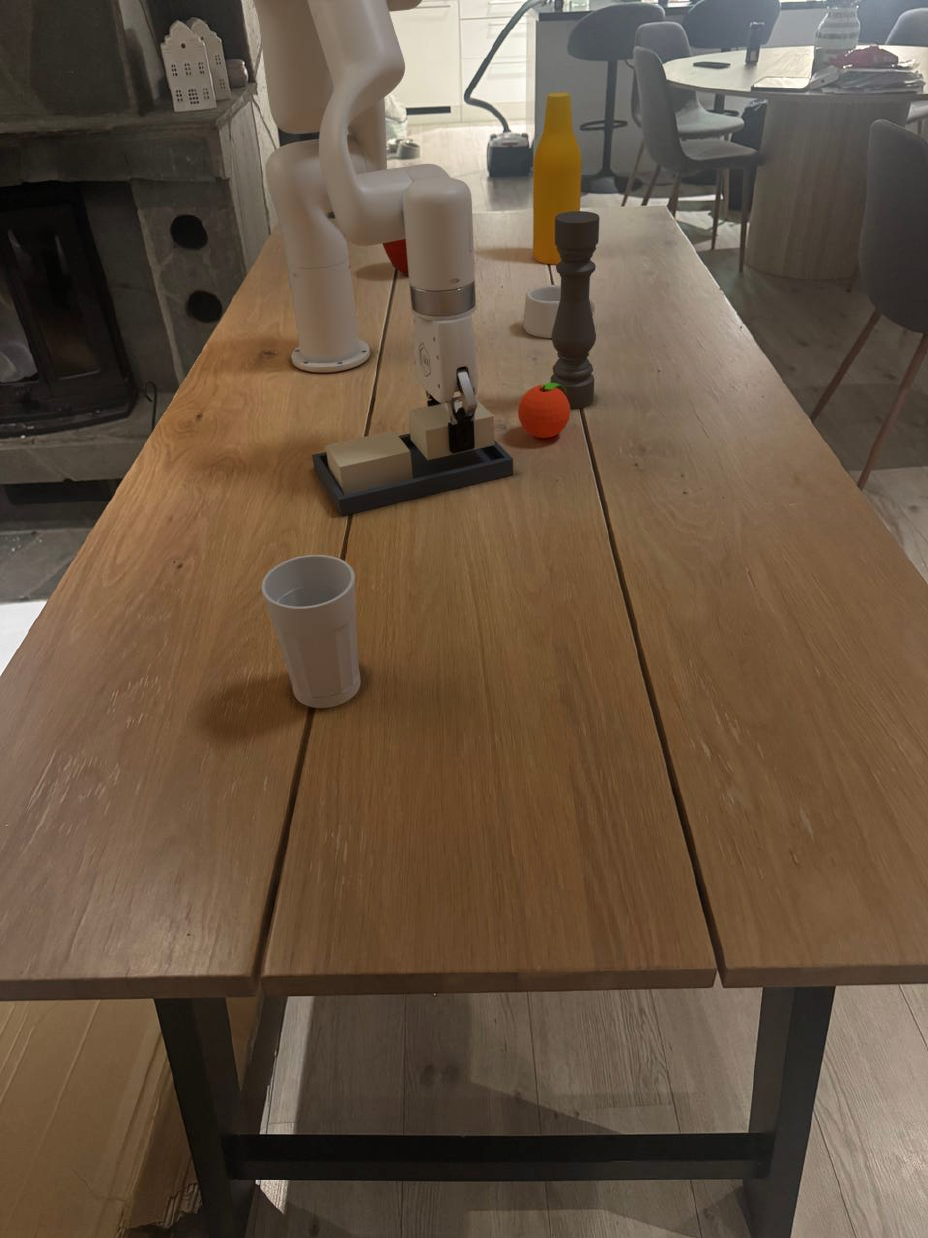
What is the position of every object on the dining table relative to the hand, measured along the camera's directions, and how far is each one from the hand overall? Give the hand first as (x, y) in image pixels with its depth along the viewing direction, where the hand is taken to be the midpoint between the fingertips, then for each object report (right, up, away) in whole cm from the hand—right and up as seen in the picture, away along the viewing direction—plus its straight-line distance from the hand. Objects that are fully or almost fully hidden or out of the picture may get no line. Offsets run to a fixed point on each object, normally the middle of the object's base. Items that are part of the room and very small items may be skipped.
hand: (451, 437), depth 117 cm
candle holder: (+17, +8, +16) cm, 25 cm away
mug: (+17, +26, +38) cm, 49 cm away
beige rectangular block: (0, -1, 0) cm, 1 cm away
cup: (-11, -29, -31) cm, 44 cm away
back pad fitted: (-10, -5, -1) cm, 11 cm away
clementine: (+13, +2, +8) cm, 15 cm away
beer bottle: (+20, +50, +69) cm, 87 cm away
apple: (-9, +45, +66) cm, 80 cm away
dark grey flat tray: (-5, -4, +1) cm, 7 cm away
